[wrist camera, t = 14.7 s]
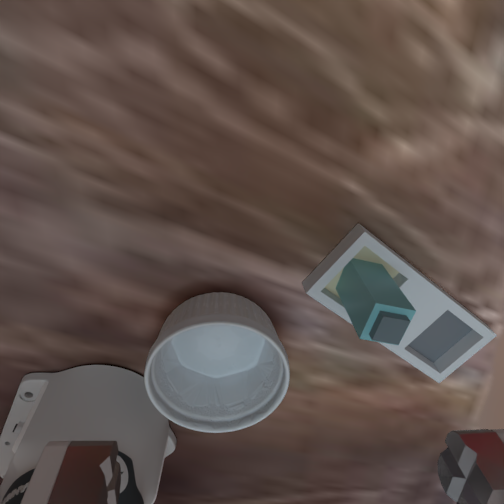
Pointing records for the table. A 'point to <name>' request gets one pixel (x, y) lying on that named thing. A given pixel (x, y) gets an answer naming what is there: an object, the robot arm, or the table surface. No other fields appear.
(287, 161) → the table surface
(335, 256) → the socket panel
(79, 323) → the table surface
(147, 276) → the table surface
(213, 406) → the ramekin
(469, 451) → the robot arm
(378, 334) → the teal plug
